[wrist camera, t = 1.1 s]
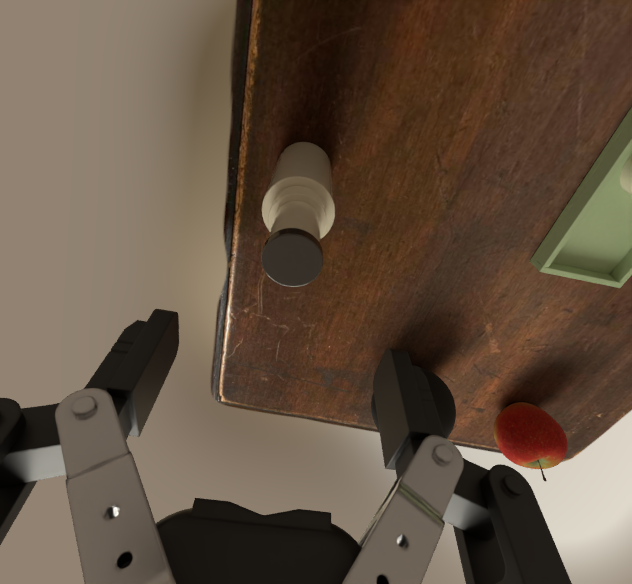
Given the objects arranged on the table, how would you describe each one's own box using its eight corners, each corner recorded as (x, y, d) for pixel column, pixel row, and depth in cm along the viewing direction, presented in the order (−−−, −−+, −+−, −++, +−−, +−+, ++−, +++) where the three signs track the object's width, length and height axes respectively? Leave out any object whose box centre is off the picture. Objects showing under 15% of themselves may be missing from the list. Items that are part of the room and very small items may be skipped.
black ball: (411, 337, 43) (432, 406, 35) (457, 376, 47) (485, 445, 39) (352, 376, 48) (358, 445, 40) (398, 408, 52) (412, 477, 43)
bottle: (280, 135, 30) (250, 209, 17) (337, 148, 31) (349, 229, 18) (272, 191, 33) (240, 291, 20) (324, 202, 33) (327, 306, 20)
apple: (556, 399, 50) (602, 469, 42) (516, 429, 54) (550, 498, 46) (511, 383, 48) (550, 453, 40) (473, 416, 53) (501, 485, 44)
